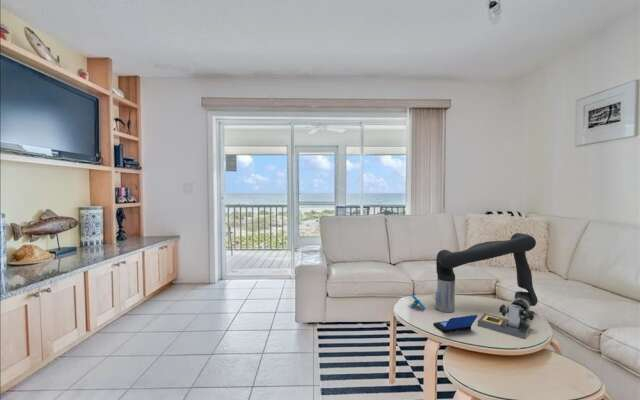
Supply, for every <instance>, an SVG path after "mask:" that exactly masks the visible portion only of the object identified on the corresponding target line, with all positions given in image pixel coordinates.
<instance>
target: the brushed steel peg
mask: <svg viewBox="0 0 640 400" xmlns="http://www.w3.org/2000/svg"><path fill="white" fill-rule="evenodd" d="M508 307H509V314H508V320H509V323H508V326H509V327H513V328H516V329H520V323H521V317H520V306H517V305H513V304H512V303H510V304H509V306H508Z"/></svg>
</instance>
